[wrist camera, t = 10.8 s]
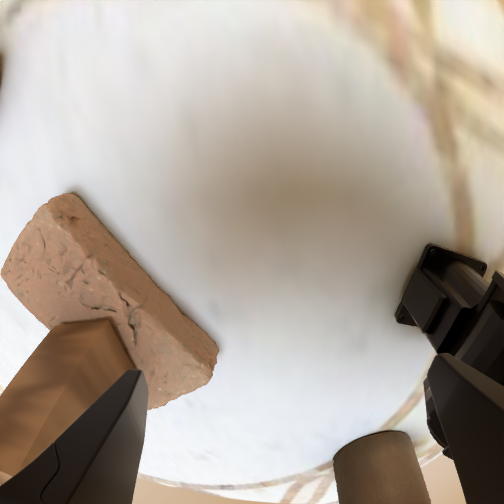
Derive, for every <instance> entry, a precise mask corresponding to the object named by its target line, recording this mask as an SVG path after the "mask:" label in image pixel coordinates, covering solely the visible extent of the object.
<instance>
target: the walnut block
mask: <svg viewBox="0 0 504 504" xmlns="http://www.w3.org/2000/svg"><path fill="white" fill-rule="evenodd" d="M128 369H134V367H133V365H132V363H131V361H130V360H129V358H128V356H127V354H126V352H125V350H124V349H123V347H122V345H121V343H120V341H119V339H118V337H117V335H116V333H115V331H114V329H113V327H112V325H111V323H110V321H109V320H103V321H94V322H85V323H76V324H66V325H56V326H54V327H53V328H52V330H51V331H50V332H49V333H48V335H47V336H46V337H45V338H44V339H43V341H42V342H41V343H40V344H39V346H38V347H37V348H36V349H35V351H34V352H33V353H32V354H31V356H30V357H29V358H28V360H27V361H26V362H25V363H24V365H23V366H22V367H21V369H20V370H19V371H18V373H17V374H16V375H15V377H14V378H13V379H12V381H11V382H10V383H9V385H8V386H7V387H6V389H5V390H4V392H3V393H2V394H1V396H0V485H2V484H3V483H5V482H6V481H7V480H9V479H10V478H11V477H13V476H14V475H15V474H17V473H18V472H19V471H21V470H22V469H23V468H25V467H26V466H27V465H28V464H29V463H31V462H32V461H33V460H34V459H35V458H37V457H38V456H39V455H40V454H41V453H42V452H43V451H44V450H45V449H46V448H47V447H48V446H49V445H50V444H51V443H54V441H55V440H56V439H57V438H58V437H59V436H60V435H61V434H62V433H63V432H64V431H65V430H66V429H67V428H68V427H69V426H70V425H71V424H72V423H73V422H74V421H75V420H76V419H77V418H78V417H79V416H80V415H81V414H82V413H83V412H84V411H85V410H86V409H88V408H89V407H90V406H91V405H92V404H93V403H94V402H95V401H96V400H97V399H98V398H99V397H100V396H101V395H102V394H103V393H104V392H105V391H106V390H107V389H108V388H109V387H110V386H111V385H112V384H113V383H114V382H115V381H116V380H117V379H118V378H119V377H120V376H122V375H123V374H124V373H125V372H126V371H127V370H128Z"/></svg>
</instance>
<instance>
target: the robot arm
mask: <svg viewBox="0 0 504 504" xmlns="http://www.w3.org/2000/svg"><path fill="white" fill-rule="evenodd" d="M432 249H433V252H432V253H430V251H431V250H432ZM481 266H482V268H481ZM480 268H481V269H480ZM486 269H487V264H486V263H485V262H483V261H482V260H479V259H476V258H473V257H471V256H468V255H465V254H462V253H459V252H456V251H453V250H450V249H447V248H445V247H442V246H439V245H436V244H428V245H427V246H426V248H425V250H424V253H423V255H422V257H421V260H420V262H419V264H418V267H417V269H416V271H415V272H414V274H413V276H412V279H411V281H410V283H409V285H408V287H407V290H406V292H405V294H404V296H403V298H402V302H401V304H400V306H399V308H398V310H397V312H396V314H395V319H396V321H397V322H398V323H399V324H405V325H411V326H417V327H419V329H420V330H421V332H422V333H423V334H425V335H426V337H427V338H428V340H429V341H430V343H431V345H432V346H433V348H434V350H435V351H436V353H437V355H436V356H435V358H434V360H433V362H432V364H431V366H430V368H429V370H428V373H427V378H426V379H425V380H424V382H423V383H424V392H425V401H426V412H427V425H428V428H429V430H430V433H431V435H432V436H433V438H434V439H435V440H436V441H437V443H438V444H439V445H441V446H442V447H443V448H444V450H443V451H442V453H443V454H444V455H445V456H447V457H448V458H450V459H452V460H454V463H455V466H456V470H457V473H458V476H459V479H460V483H461V486H462V489H463V493H464V496H465V500H466V503H467V504H504V274H502V273H501V272H499V271H497V270H496V271H495V273H494V275H493V276H492V279H493V280H492V281H491V283H490V284H489V283H488V282H487V281H486V280H485V279H484V278H483V276H484V274H485V272H486ZM402 315H403V317H401V316H402ZM400 317H401V318H400ZM148 397H149V390H148V386H147V382H146V379H145V375H144V372H143V371H142V370H141V369H128V370H127V371H126V372H125V373H124V374H123V375H122V376H120V377H119V378H118V379H117V380H116V381H115V382H114V383H113V384H112V385H111V386H110V387H109V388H108V389H107V390H106V391H105V392H104V393H103V394H102V395H101V396H100V397H99V398H98V399H97V400H96V401H95V402H94V403H93V404H92V405H91V406H90V407H89V408H88V409H86V410H85V411H84V412H83V413H82V414H81V415H80V416H79V417H78V418H77V419H76V420H75V421H74V422H73V423H72V424H71V425H70V426H69V427H68V428H67V429H66V430H65V431H64V432H63V433H62V434H61V435H60V436H59V437H58V438H57V439H56V440H55V441H54V443H51V444H50V445H49V446H48V447H47V448H46V449H45V450H44V451H43V452H42V453H41V454H40V455H39V456H38V457H37V458H35V459H34V460H33V461H32V462H31V463H29V464H28V465H27V466H26V467H25V468H23V469H22V470H21V471H19V472H18V473H17V474H15V475H14V476H13V477H11V478H10V479H9V480H7V481H6V482H5V483H3V484H2V485H1V486H0V504H132V499H133V493H134V488H135V483H136V478H137V473H138V468H139V463H140V459H141V454H142V449H143V444H144V437H145V427H146V416H147V406H148Z"/></svg>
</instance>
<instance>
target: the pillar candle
mask: <svg viewBox="0 0 504 504" xmlns="http://www.w3.org/2000/svg"><path fill="white" fill-rule="evenodd" d="M333 460H334V464H333V465H334V472H335V479H336V483H337V492H338V499H339V504H431V500H430V498H429V494H428V491H427V488H426V484H425V481H424V478H423V475H422V472H421V469H420V466H419V463H418V460H417V457H416V454H415V451H414V447H413V445H412V442H411V439H410V437H409V436H408V435H407V434H406V433H403V432H399V431H398V432H396V431H389V432H383V433H379V434H375V435H370V436H366V437H363V438H360V439H358V440H356V441H354V442H352V443H349V444H348V445H346V446H345V447H344V448H342V449H341V450H340V451H339V452H338V453H337V454H336V455H335V457H334V458H333Z"/></svg>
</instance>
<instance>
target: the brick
mask: <svg viewBox="0 0 504 504" xmlns="http://www.w3.org/2000/svg"><path fill="white" fill-rule="evenodd" d="M0 275H1V277H2V278H3V280H4V281H5V282H6V283H7V285H8V288H9V289H10V290H11V292H12V293H13V294H14V295H15V296H16V297H17V298H18V300H19V301H20V302H21V303H22V304H23V305H24V306H25V307H26V308H27V309H28V310H29V311H30V312H31V313H32V314H33V315H34V316H35V317H36V318H37V319H38V320H39V321H40V322H42V323H43V324H44V325H45V326H46V327H47V328H48V329H49V330H50V331H51V330H52V328H53V327H54V326H56V325H66V324H76V323H85V322H94V321H103V320H109V321H110V323H111V325H112V327H113V329H114V331H115V333H116V335H117V337H118V339H119V341H120V343H121V345H122V347H123V349H124V350H125V352H126V354H127V356H128V358H129V360H130V361H131V363H132V365H133V367H134V369H141V370H142V371H143V372H144V375H145V379H146V382H147V386H148V390H149V397H148V406H147V410H151V409H152V408H158V407H160V406H165V405H166V404H167V403H168V401H170V400H174V399H177V398H178V397H179V396H181V395H183V394H187V393H190V392H192V391H195V390H196V389H197V388H199V387H201V386H204V385H206V384H207V383H208V382H209V381H210V379H211V378H212V376H213V373H212V371H213V370H214V366H215V364H216V363H217V358H216V356H217V354H218V352H219V349H218V347H217V346H216V344H215V342H214V341H213V340H212V339H211V338H210V337H209V336H208V335H207V333H206V332H204V331H203V330H202V329H201V328H200V327H199V326H198V325H197V324H196V323H194V322H193V321H192V320H191V319H190V318H188V317H187V316H185V315H183V314H181V312H180V311H179V309H178V307H177V306H176V305H175V303H174V302H173V301H172V299H171V298H170V297H169V296H168V295H167V294H165V293H164V292H163V291H162V290H161V289H159V288H158V287H157V286H156V284H155V283H154V282H153V280H152V279H151V278H150V276H149V275H148V274H147V273H146V272H145V271H144V270H143V269H142V268H141V267H140V266H139V265H138V264H137V262H136V261H135V260H133V259H132V258H130V256H129V253H128V252H127V251H126V250H125V249H124V248H123V247H122V246H121V245H120V243H119V242H118V241H117V240H115V238H114V237H113V236H112V235H111V233H110V232H109V231H108V230H107V229H106V228H105V227H104V225H103V224H102V223H101V222H100V221H99V220H98V219H97V218H96V217H95V215H94V214H93V213H92V212H91V211H90V210H89V209H88V208H87V207H86V205H85V204H84V202H82V201H81V200H80V199H79V197H77V196H75V195H73V194H69V193H66V194H62V195H60V196H56V197H54V198H51V199H50V200H49V202H48V203H46V204H44V205H42V206H41V207H40V208H39V209H38V211H37V212H36V213H35V214H34V216H33V219H32V220H31V221H29V222H28V223H27V224H26V226H25V228H24V229H23V231H22V232H21V234H20V235H19V236H18V238H17V240H16V241H15V243H14V245H13V247H12V249H11V251H10V253H9V255H8V257H7V259H6V261H5V263H4V266H3V268H2V269H1V274H0Z"/></svg>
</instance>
